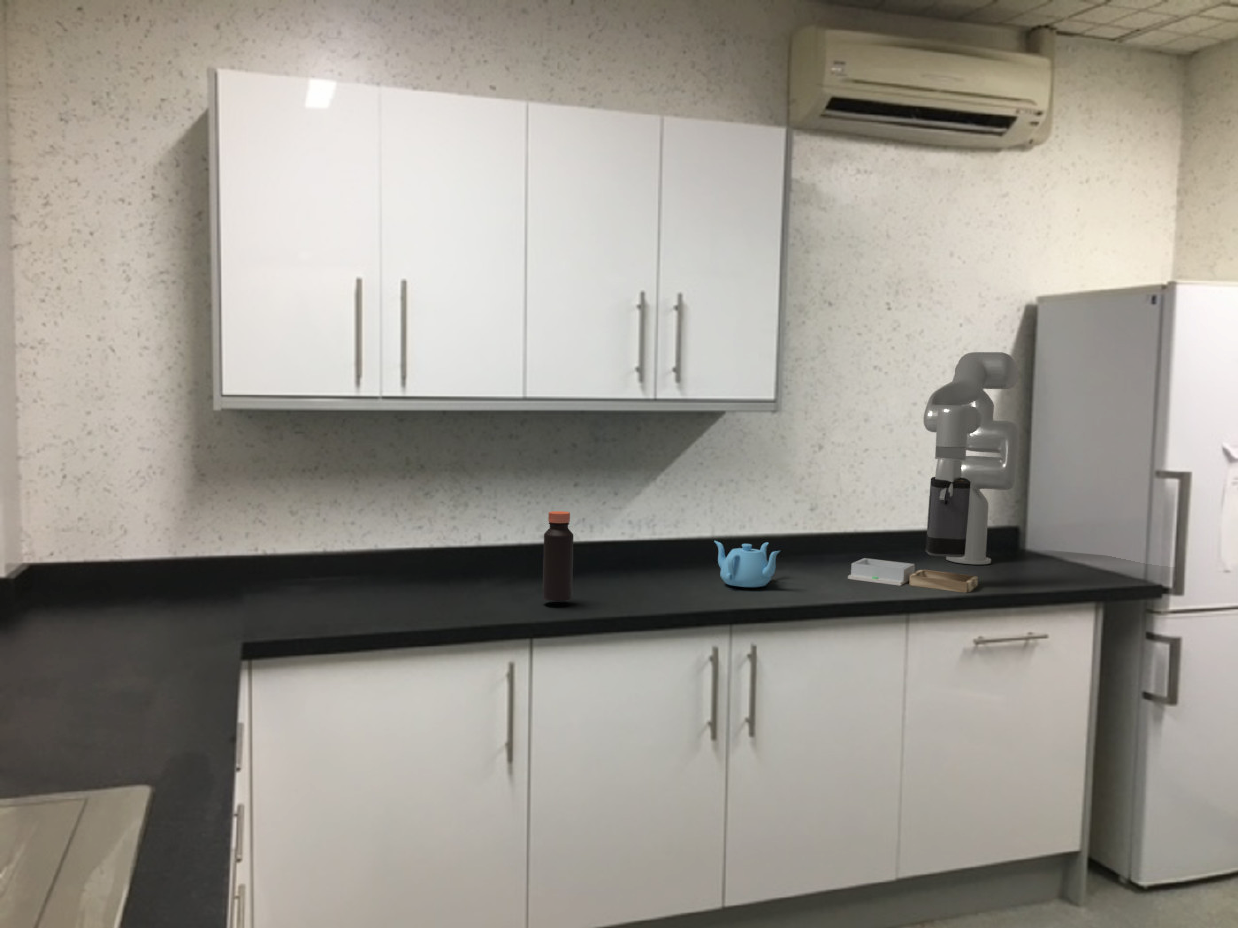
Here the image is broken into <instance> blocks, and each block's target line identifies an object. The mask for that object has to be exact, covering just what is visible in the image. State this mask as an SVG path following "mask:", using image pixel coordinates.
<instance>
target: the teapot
mask: <svg viewBox="0 0 1238 928" xmlns="http://www.w3.org/2000/svg"><path fill="white" fill-rule="evenodd" d="M713 542H714V543H715V545H716V546H717V548H718V556H717V562H718V563H717V565H718V566H719V569H720V573H719V574H720V578H721V580H723V582H724V583H725V584H727V585H729V586H734V587H742V588H759V587H765V586H767V584H768V583H769V582H770V581H771V579H772V576H773V575H774V574H775V572H776V566H777V564H776V563H777V562H776V559H777V555H778V554H779V553H780V552H781V550H777V551H776V550H775V551H772V552H771V553H770V555H769V558H767V548H768V545H769V542H768V541H767V542H764V543H763V544H762V545H761V546H760V549H756V548H752V547H753V544H752V543H742V544H741V547H742V548H741V547H738V548H732V549H730V551H729V553H728V554H727V556H726V554H725V548H724V545H723V544H722V543H721V542H719V541H718V540H714V541H713Z"/></svg>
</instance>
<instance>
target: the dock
mask: <svg viewBox="0 0 1238 928" xmlns="http://www.w3.org/2000/svg"><path fill="white" fill-rule="evenodd" d="M850 566H851V567H850V574H849V575H847V580H848V579H849V580H854V581H862V582H870V583H877V584H878V583H879V584H885V585H894V586H900V587H901V586H902V585H904V584H906V583H909V582H910V575H911V574H913V573H915V572H916V569H915V567H916V565H915V563H910V562H902V561H901V562H899V561H893V560H883V559H875V558H866V557H864V558H861V559H859V560H856V561H854V562H852V563H851V565H850Z"/></svg>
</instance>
